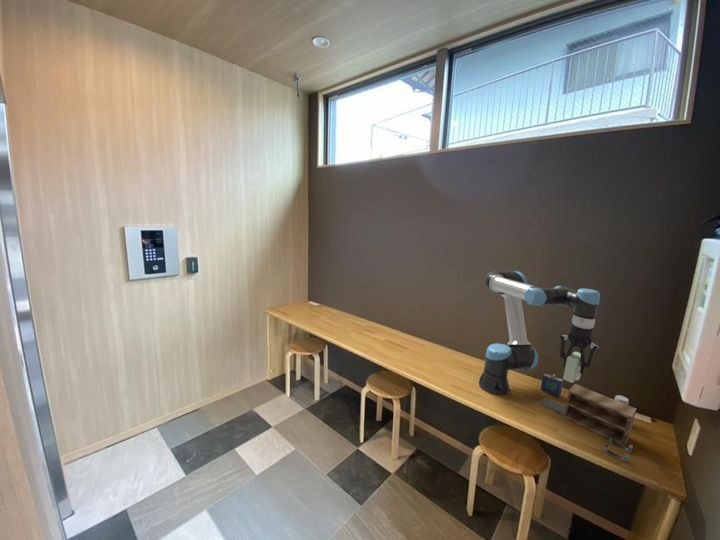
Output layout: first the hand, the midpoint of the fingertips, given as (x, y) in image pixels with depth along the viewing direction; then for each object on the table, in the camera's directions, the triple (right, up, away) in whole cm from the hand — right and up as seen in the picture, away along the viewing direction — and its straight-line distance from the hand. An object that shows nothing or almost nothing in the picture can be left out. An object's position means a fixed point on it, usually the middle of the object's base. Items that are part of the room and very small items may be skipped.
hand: (571, 376), depth 127 cm
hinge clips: (+13, -27, -8) cm, 31 cm away
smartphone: (+6, -22, +18) cm, 29 cm away
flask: (+10, -20, +30) cm, 38 cm away
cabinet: (+14, -25, +6) cm, 29 cm away
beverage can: (+28, -25, +10) cm, 39 cm away
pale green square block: (0, 0, 0) cm, 0 cm away
